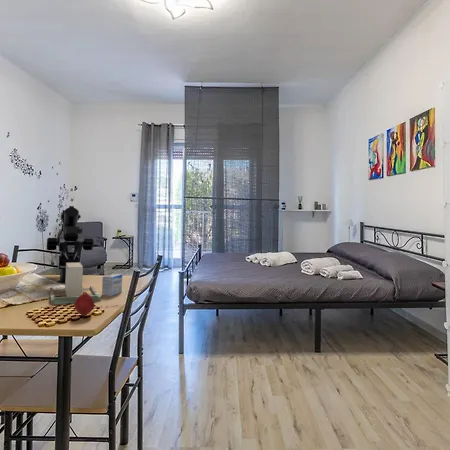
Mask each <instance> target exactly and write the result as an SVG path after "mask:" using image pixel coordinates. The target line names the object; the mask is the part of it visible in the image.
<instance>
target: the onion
mask: <svg viewBox="0 0 450 450" xmlns="http://www.w3.org/2000/svg"><path fill="white" fill-rule="evenodd" d="M88 294H89V293H87V291H84V292H83V294H82V295H80V296H79V297H78V298H77V300H76V301H75V303H74V309H75V311H76V312H77V313H78V314H80V316H82V317H86V316H87V315H89V314H90V313H91V312H92V311H93V310H94V308H95V302H94V300H93V298H92V297H91V296H90V295H88ZM85 315H86V316H85Z"/></svg>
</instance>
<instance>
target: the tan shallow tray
mask: <svg viewBox="0 0 450 450" xmlns="http://www.w3.org/2000/svg"><path fill="white" fill-rule="evenodd" d="M84 291H85V292H87V291H91V293H87V294H88V295H90V296H91V297H92V298H93V300H94V303H95V302H101V301H102V298H101V295H100V293H99V292H97V290H96V288H94V285H89V288H88V287H87V288H83V287H82V294H83V292H84ZM49 297H50V304H51V305H61V304H75V301H76V300H77V298H78V297H79V296H73V297H67V295H66V292H65V288H64V289H53V287H49Z"/></svg>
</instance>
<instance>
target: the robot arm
mask: <svg viewBox="0 0 450 450" xmlns="http://www.w3.org/2000/svg"><path fill="white" fill-rule="evenodd" d="M80 219H81V215H80V211H79V210H78V209H77V208H75V207H74V206H73V205H69V206H68V207H67V208H66V209H65V210H64V209H63V210H62V212H60V220H61V228H60V230H59V231H58V233H57V235H56V236H57V237H47V239H46V250H47V251H56V250H57V249H58V251H59V252H60V255H59V256H58V263H57V269H58V270H59V280H56V282H57V283H64V284H65V280H66V263H81V258H80V255H78V253H79V252H82V249H83V250H84V251H92V250H93V249H94V242H95V241H94V239H93V238H91V237H88V238H87V237H84V238H83V240H79V235H83V226H82V225H77V224H78V221H79V220H80ZM57 247H58V248H57Z"/></svg>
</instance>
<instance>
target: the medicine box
mask: <svg viewBox="0 0 450 450" xmlns="http://www.w3.org/2000/svg"><path fill="white" fill-rule="evenodd" d="M101 285H102V286H101V294H102V296H109V297H110V296H111V297H112V296H115V295H117V294H120V293H122V292H123V274H120V273H112V274H107V275H105V276H102V284H101Z"/></svg>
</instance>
